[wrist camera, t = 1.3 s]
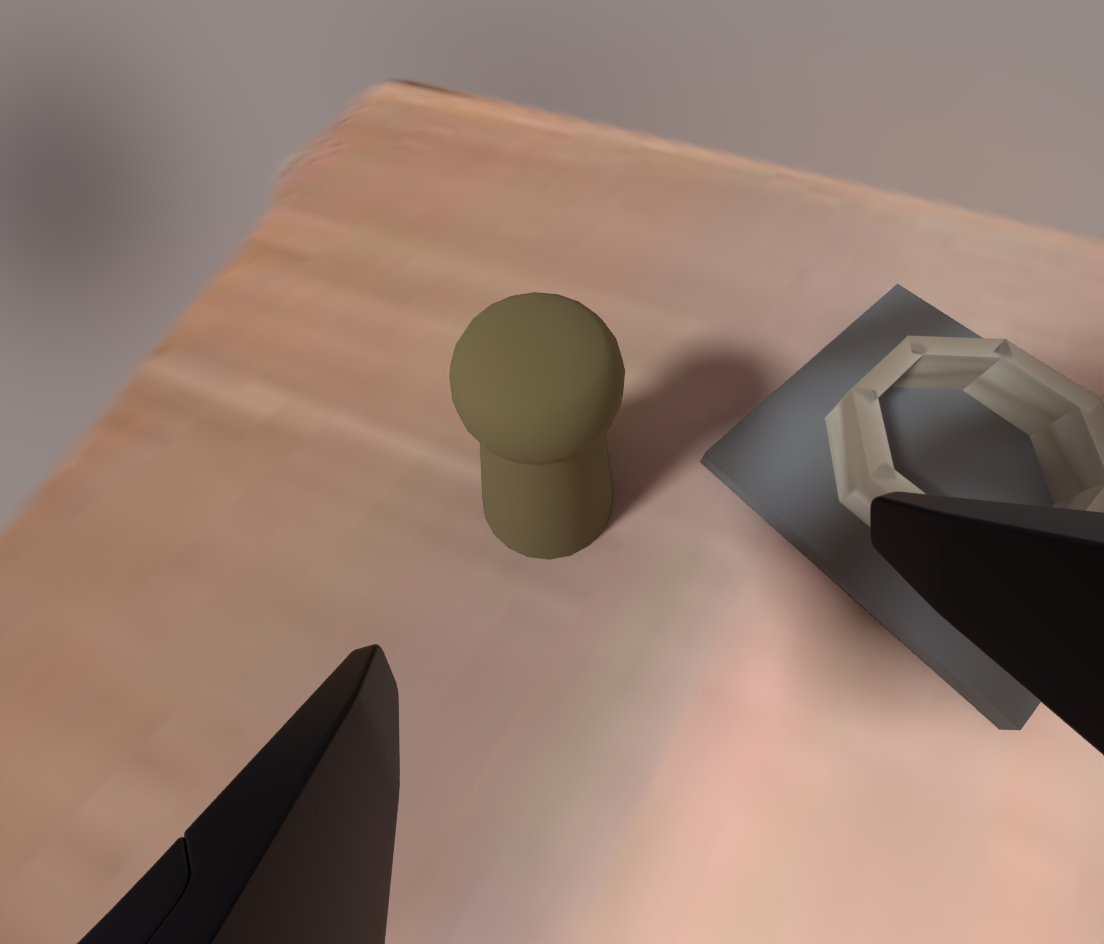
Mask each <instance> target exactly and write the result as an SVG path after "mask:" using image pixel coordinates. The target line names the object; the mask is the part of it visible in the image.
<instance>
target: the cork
mask: <svg viewBox="0 0 1104 944" xmlns="http://www.w3.org/2000/svg"><path fill="white" fill-rule="evenodd" d="M624 377H625V368H624V364H623V360H622V356H621V353H620V350H619V346H618V343H617V340H616V338H615V336H614V335H613V334H612V332H611V331H610V330H609V328H608V327H607V326H606V324H605V323H604V322H603V320H602V319H601V318H600V317H599V316H598V315H597V314H596V313H594V312H593V311H591V310H590V309H588V308H587V307H585V306H584V305H583V304H581V303H580V302H578V301H575V300H572V299H569V298H567V297H564V296H561V295H558V294H548V293H535V292H534V293H527V294H521V295H515V296H510V297H508V298H506V299H503V300H501V301H499V302H496V303H494V304H492V305H490V306H489V307H487V308H486V309H485V310H484V311H482V312H481V313H480V314H479V315H477V316H476V317H475V318H474V319H473V320H472V321H471V323H470V324H469V326H468V327H467V329H466V330H465V332H464V333H463V335H462V336H461V337H460V339H459V340H458V342H457V343H456V346H455V350H454V353H453V357H452V361H451V365H450V384H451V393H452V400H453V403H454V405H455V408H456V410H457V412H458V414H459V416H460V418H461V420H462V421H463V423H464V425H465V427H466V429H467V431H468V432H469V433H470V434H471V435H472V436H474V437H475V438H476V439H477V440H478V441H479V442H480V458H481V480H482V499H483V506H484V513H485V518H486V520H487V522H488V523H489V525H490V527H491V529H492V531H493V533H494V535H496V536H497V537H498V538H499V539H500V540H501V541H502V542H503V543H504V544H505V545H506V546H507V547H508V548H510V549H512V550H514V551H516V552H518V553H521V554H523V555H525V556H527V557H533V558H542V559H554V558H559V557H565V556H570V555H572V554H574V553H576V552H578V551H579V550H581V549H583V548H585V547H587V546H589V545H590V544H591V543H592V542H593V541H594V540H595V538H596V537H597V536H598V535H599V534H600V533H601V532H602V531H603V530H604V527H605V525H606V523H607V521H608V519H609V516H610V514H611V510H612V499H613V489H612V481H611V473H610V465H609V457H608V449H607V441H606V433H605V432H606V431H607V430H608V428H609V427H610V426H611V423H612V421H613V419H614V417H615V415H616V413H617V411H618V409H619V407H620V405H621V401H622V396H623V388H624Z"/></svg>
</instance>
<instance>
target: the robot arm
mask: <svg viewBox="0 0 1104 944" xmlns="http://www.w3.org/2000/svg"><path fill="white" fill-rule="evenodd" d="M870 539H871V543H872V545H873V547H874V548H875V550H876V551H877V552H878V553H879V554H880V555H881V556H882V557H883V558H884V559H885V560H886V561H887V563H888V564H889V565H890V566H891V567H892V568H893V569H894V570H895V571H896V572H897V573H898V574H899V575H900V576H901V577H902V578H903V579H904V580H905V581H906V582H907V583H908V584H909V585H910V586H911V587H912V588H913V589H914V590H915V591H916V592H917V593H918V594H919V595H920V596H921V597H922V598H923V599H924V600H925V601H926V602H927V603H928V604H929V605H930V606H931V607H932V608H933V609H934V610H935V611H936V612H937V613H938V614H939V615H940V616H941V617H942V618H944V619H945V620H946V621H947V622H948V623H949V624H950V625H952V626H953V627H954V628H955V629H956V630H957V631H959V632H960V633H961V634H962V635H963V636H964V637H966V638H967V639H968V640H969V641H970V642H971V643H973V644H974V645H975V646H976V647H977V648H979V649H980V650H981V651H982V652H983V653H984V654H986V655H987V656H988V657H989V658H990V659H991V660H993V661H994V662H995V663H996V664H997V665H998V666H1000V667H1001V668H1002V669H1003V670H1004V671H1005V672H1007V673H1008V674H1009V675H1010V676H1011V677H1013V678H1014V679H1015V680H1016V681H1017V682H1018V683H1020V684H1021V685H1022V686H1023V687H1024V688H1025V689H1027V690H1028V691H1029V692H1030V693H1031V694H1032V695H1034V696H1035V697H1036V698H1037V699H1038V700H1039V701H1041V702H1042V703H1043V704H1044V705H1045V706H1047V707H1048V708H1049V709H1050V710H1051V711H1052V712H1054V713H1055V714H1056V715H1057V716H1058V717H1059V718H1061V719H1062V720H1063V721H1064V722H1065V723H1066V724H1068V725H1069V726H1070V727H1071V728H1072V729H1073V730H1075V731H1076V732H1077V733H1078V734H1079V735H1081V736H1082V737H1083V738H1084V739H1085V740H1086V741H1088V742H1089V743H1090V744H1091V745H1092V746H1093V747H1095V748H1096V749H1097V750H1098V751H1099V752H1100V753H1102V754H1103V755H1104V512H1094V511H1085V510H1075V509H1065V508H1055V507H1046V506H1036V505H1026V504H1016V503H1007V502H997V501H987V500H977V499H968V498H958V497H948V496H938V495H929V494H919V493H909V492H899V491H895V492H890V493H887V494H884V495H880V496H877V497H875V498H874V499H873V500H872V502H871V505H870ZM399 787H400V754H399V697H398V689H397V684H396V681H395V679H394V676H393V674H392V671H391V669H390V666H389V664H388V662H387V659H386V657H385V654H384V652H383V650H382V648H381V647H380V646H379V645H377V644H373V645H370V646H366V647H363V648H359V649H356V650H354V651H352V652H351V653H350V654H349V655H348V656H347V658H346V659H345V660H344V661H343V662H342V663H341V664H340V665H339V666H338V667H337V668H336V669H335V670H334V672H333V673H332V674H331V675H330V676H329V677H328V678H327V679H326V680H325V681H324V682H323V683H322V685H321V686H320V687H319V688H318V689H317V690H316V691H315V692H314V693H313V694H312V695H311V696H310V697H309V699H308V700H307V701H306V702H305V703H304V704H303V705H302V706H301V707H300V708H299V709H298V710H297V711H296V713H295V714H294V715H293V716H292V717H291V718H290V719H289V720H288V721H287V722H286V723H285V724H284V725H283V727H282V728H281V729H280V730H279V731H278V732H277V733H276V734H275V735H274V736H273V737H272V738H271V739H270V741H269V742H268V743H267V744H266V745H265V746H264V747H263V748H262V749H261V750H260V751H259V752H258V753H257V755H256V756H255V757H254V758H253V759H252V760H251V761H250V762H249V763H248V764H247V765H246V766H245V767H244V768H243V770H242V771H241V772H240V773H239V774H238V775H237V776H236V777H235V778H234V779H233V780H232V781H231V782H230V784H229V785H228V786H227V787H226V788H225V789H224V790H223V791H222V792H221V793H220V794H219V795H218V796H217V798H216V799H215V800H214V801H213V802H212V803H211V804H210V805H209V806H208V807H207V808H206V809H205V810H204V812H203V813H202V814H201V815H200V816H199V817H198V818H197V819H196V820H195V821H194V822H193V823H192V824H191V826H190V827H189V828H188V829H187V830H186V831H185V833H184V837H180V838H178V839H177V840H176V841H175V843H174V844H173V845H172V846H171V847H170V848H169V849H168V850H167V851H166V852H165V853H164V855H163V856H162V857H161V858H160V859H159V860H158V861H157V862H156V863H155V864H154V865H153V866H152V867H151V868H150V870H149V871H148V872H147V873H146V874H145V875H144V876H143V877H142V878H141V879H140V880H139V881H138V882H137V883H136V884H135V885H134V886H133V887H132V888H131V889H130V890H129V892H128V893H127V894H126V895H125V896H124V897H123V898H122V899H121V900H120V901H119V902H118V903H117V904H116V905H115V906H114V907H113V908H112V909H111V910H110V911H109V912H108V913H107V914H106V915H105V916H104V917H103V918H102V919H101V920H100V921H99V922H98V923H97V924H96V925H95V926H94V927H93V928H92V929H91V930H90V931H89V932H88V933H87V934H86V935H85V936H84V937H83V938H82V939H81V940H80V941H79V942H78V943H77V944H385V935H386V925H387V914H388V904H389V894H390V884H391V873H392V863H393V853H394V843H395V832H396V822H397V812H398V801H399Z"/></svg>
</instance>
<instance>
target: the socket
mask: <svg viewBox="0 0 1104 944" xmlns="http://www.w3.org/2000/svg"><path fill="white" fill-rule="evenodd" d="M700 462H701V463H702V464H703V465H704V466H705V467H707V468H708V469H709V470H710V471H711V472H712V473H713V474H714V475H715V476H717V477H718V478H719V479H720V480H721V481H722V482H723V483H724V484H726V485H727V486H728V487H729V488H730V489H731V490H732V491H733V492H734V493H736V494H737V495H738V496H739V497H740V498H741V499H742V500H743V501H745V502H746V503H747V504H748V505H749V506H750V507H751V508H752V509H753V510H755V511H756V512H757V513H758V514H759V515H760V516H761V517H762V518H764V519H765V520H766V521H767V522H768V523H769V524H770V525H771V526H773V527H774V528H775V529H776V530H777V531H778V532H779V533H780V534H781V535H783V536H784V537H785V538H786V539H787V540H788V541H789V542H790V543H792V544H793V545H794V546H795V547H796V548H797V549H798V550H799V551H800V552H802V553H803V554H804V555H805V556H806V557H807V558H808V559H809V560H811V561H812V562H813V563H814V564H815V565H816V566H817V567H818V568H819V569H821V570H822V571H823V572H824V573H825V574H826V575H827V576H828V577H830V578H831V579H832V580H833V581H834V582H835V583H836V584H837V585H839V586H840V587H841V588H842V589H843V590H844V591H845V592H846V593H847V594H849V595H850V596H851V597H852V598H853V599H854V600H855V601H856V602H858V603H859V604H860V605H861V606H862V607H863V608H864V609H865V610H866V611H868V612H869V613H870V614H871V615H872V616H873V617H874V618H875V619H877V620H878V621H879V622H880V623H881V624H882V625H883V626H884V627H886V628H887V629H888V630H889V631H890V632H891V633H892V634H893V635H894V636H896V637H897V638H898V639H899V640H900V641H901V642H902V643H903V644H905V645H906V646H907V647H908V648H909V649H910V650H911V651H912V652H913V653H915V654H916V655H917V656H918V657H919V658H920V659H921V660H922V661H924V662H925V663H926V664H927V665H928V666H929V667H930V668H931V669H932V670H934V671H935V672H936V673H937V674H938V675H939V676H940V677H941V678H943V679H944V680H945V681H946V682H947V683H948V684H949V685H950V686H952V687H953V688H954V689H955V690H956V691H957V692H958V693H959V694H960V695H962V696H963V697H964V698H965V699H966V700H967V701H968V702H969V703H971V704H972V705H973V706H974V707H975V708H976V709H977V710H978V711H979V712H981V713H982V714H983V715H984V716H985V717H986V718H987V719H988V720H990V721H991V722H992V723H993V724H994V725H995V726H996V727H997V728H998V729H1002V730H1021V729H1022V727H1023V726H1024V725H1025V723H1026V722H1027V720H1028V719H1029V718H1030V716H1031V715H1032V713H1033V712H1034V711H1035V709H1036V708H1037V706H1038V705H1039V704H1040V702H1041V701H1039V700H1038V699H1037V698H1036V697H1035V696H1034V695H1032V694H1031V693H1030V692H1029V691H1028V690H1027V689H1025V688H1024V687H1023V686H1022V685H1021V684H1020V683H1018V682H1017V681H1016V680H1015V679H1014V678H1013V677H1011V676H1010V675H1009V674H1008V673H1007V672H1005V671H1004V670H1003V669H1002V668H1001V667H1000V666H998V665H997V664H996V663H995V662H994V661H993V660H991V659H990V658H989V657H988V656H987V655H986V654H984V653H983V652H982V651H981V650H980V649H979V648H977V647H976V646H975V645H974V644H973V643H971V642H970V641H969V640H968V639H967V638H966V637H964V636H963V635H962V634H961V633H960V632H959V631H957V630H956V629H955V628H954V627H953V626H952V625H950V624H949V623H948V622H947V621H946V620H945V619H944V618H942V617H941V616H940V615H939V614H938V613H937V612H936V611H935V610H934V609H933V608H932V607H931V606H930V605H929V604H928V603H927V602H926V601H925V600H924V599H923V598H922V597H921V596H920V595H919V594H918V593H917V592H916V591H915V590H914V589H913V588H912V587H911V586H910V585H909V584H908V583H907V582H906V581H905V580H904V579H903V578H902V577H901V576H900V575H899V574H898V573H897V572H896V571H895V570H894V569H893V568H892V567H891V566H890V565H889V564H888V563H887V561H886V560H885V559H884V558H883V557H882V556H881V555H880V554H879V553H878V552H877V551H876V550H875V548H874V547H873V545H872V543H871V539H870V505H871V502H872V500H873V499H874V498H875V497H877V496H880V495H884V494H887V493H890V492H895V491H899V492H909V493H919V494H929V495H938V496H948V497H958V498H968V499H977V500H987V501H997V502H1007V503H1016V504H1026V505H1036V506H1046V507H1055V508H1065V509H1075V510H1085V511H1094V512H1104V405H1103V403H1102V400H1101V398H1099V397H1097V396H1095V395H1094V394H1092V393H1091V392H1089V391H1087V390H1086V389H1084V388H1083V387H1081V386H1079V385H1078V384H1076V383H1075V382H1073V381H1071V380H1070V379H1068V378H1067V377H1065V376H1063V375H1062V374H1060V373H1059V372H1057V371H1056V370H1054V369H1052V368H1051V367H1049V366H1048V365H1046V364H1044V363H1043V362H1041V361H1040V360H1038V359H1036V358H1035V357H1033V356H1032V355H1030V354H1028V353H1027V352H1025V351H1024V350H1022V349H1020V348H1019V347H1017V346H1016V345H1014V344H1012V343H1011V342H1009V341H1008V340H1007V339H984V338H982V337H980V336H979V335H977V334H976V333H974V332H973V331H971V330H969V329H968V328H966V327H965V326H963V325H962V324H960V323H958V322H957V321H955V320H954V319H952V318H951V317H949V316H947V315H946V314H944V313H943V312H941V311H940V310H938V309H936V308H935V307H933V306H932V305H930V304H929V303H927V302H925V301H924V300H922V299H921V298H919V297H918V296H916V295H914V294H913V293H911V292H910V291H908V290H907V289H905V288H903V287H902V286H900V285H899V284H897V285H896V286H894V287H893V288H892V289H891V290H890V291H889V292H888V293H886V294H885V295H884V296H883V297H882V298H881V299H880V300H878V301H877V302H876V303H875V304H874V305H873V306H872V307H870V308H869V309H868V310H867V311H866V312H865V313H864V314H862V315H861V316H860V317H859V318H858V319H857V320H856V321H854V322H853V323H852V324H851V325H850V326H849V327H848V328H846V329H845V330H844V331H843V332H842V333H841V334H840V335H839V336H837V337H836V338H835V339H834V340H833V341H832V342H831V343H829V344H828V345H827V346H826V347H825V348H824V349H823V350H821V351H820V352H819V353H818V354H817V355H816V356H815V357H813V358H812V359H811V360H810V361H809V362H808V363H807V364H805V365H804V366H803V367H802V368H801V369H800V370H799V371H797V372H796V373H795V374H794V375H793V376H792V377H791V378H789V379H788V380H787V381H786V382H785V383H784V384H783V385H781V386H780V387H779V388H778V389H777V390H776V391H775V392H774V393H772V394H771V395H770V396H769V397H768V398H767V399H766V400H764V401H763V402H762V403H761V404H760V405H759V406H758V407H756V408H755V409H754V410H753V411H752V412H751V413H750V414H748V415H747V416H746V417H745V418H744V419H743V420H742V421H740V422H739V423H738V424H737V425H736V426H735V427H734V428H732V429H731V430H730V431H729V432H728V433H727V434H726V435H724V436H723V437H722V438H721V439H720V440H719V441H718V442H716V443H715V444H714V445H713V446H712V447H711V448H710V449H709V450H707V451H706V452H705V454H704V456H703V458H702V459H701V461H700Z"/></svg>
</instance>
